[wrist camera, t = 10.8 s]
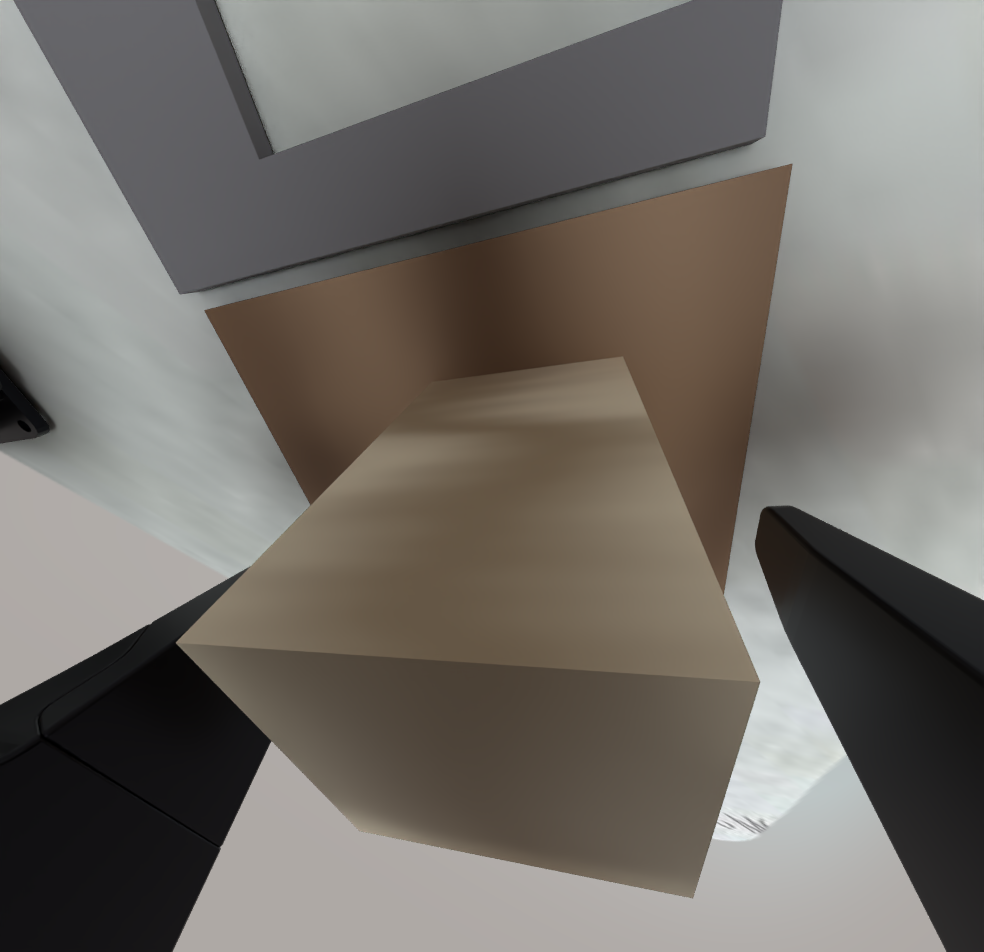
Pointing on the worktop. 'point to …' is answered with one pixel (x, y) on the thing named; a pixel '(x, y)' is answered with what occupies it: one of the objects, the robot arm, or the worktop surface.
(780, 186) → the board
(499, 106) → the mat
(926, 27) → the worktop surface
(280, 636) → the beige wooden block
